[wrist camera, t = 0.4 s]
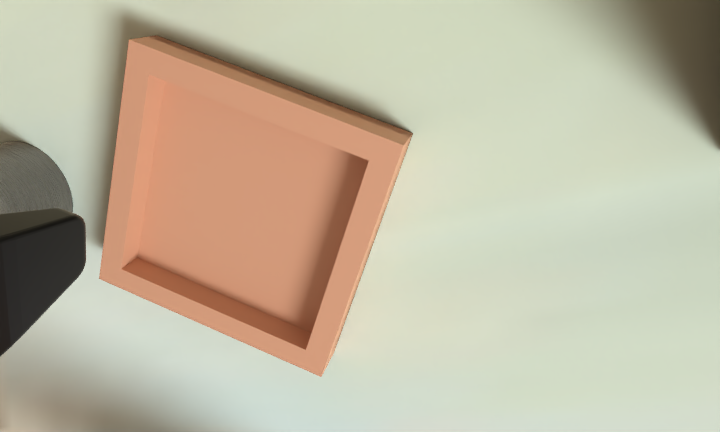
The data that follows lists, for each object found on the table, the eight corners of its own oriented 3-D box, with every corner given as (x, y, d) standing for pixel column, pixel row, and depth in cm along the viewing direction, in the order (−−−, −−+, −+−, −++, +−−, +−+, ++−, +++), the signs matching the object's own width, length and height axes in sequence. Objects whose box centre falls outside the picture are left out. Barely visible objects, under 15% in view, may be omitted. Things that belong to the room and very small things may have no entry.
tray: (333, 352, 27) (321, 376, 25) (123, 261, 28) (99, 278, 27) (412, 133, 22) (403, 145, 21) (156, 35, 23) (129, 39, 22)
